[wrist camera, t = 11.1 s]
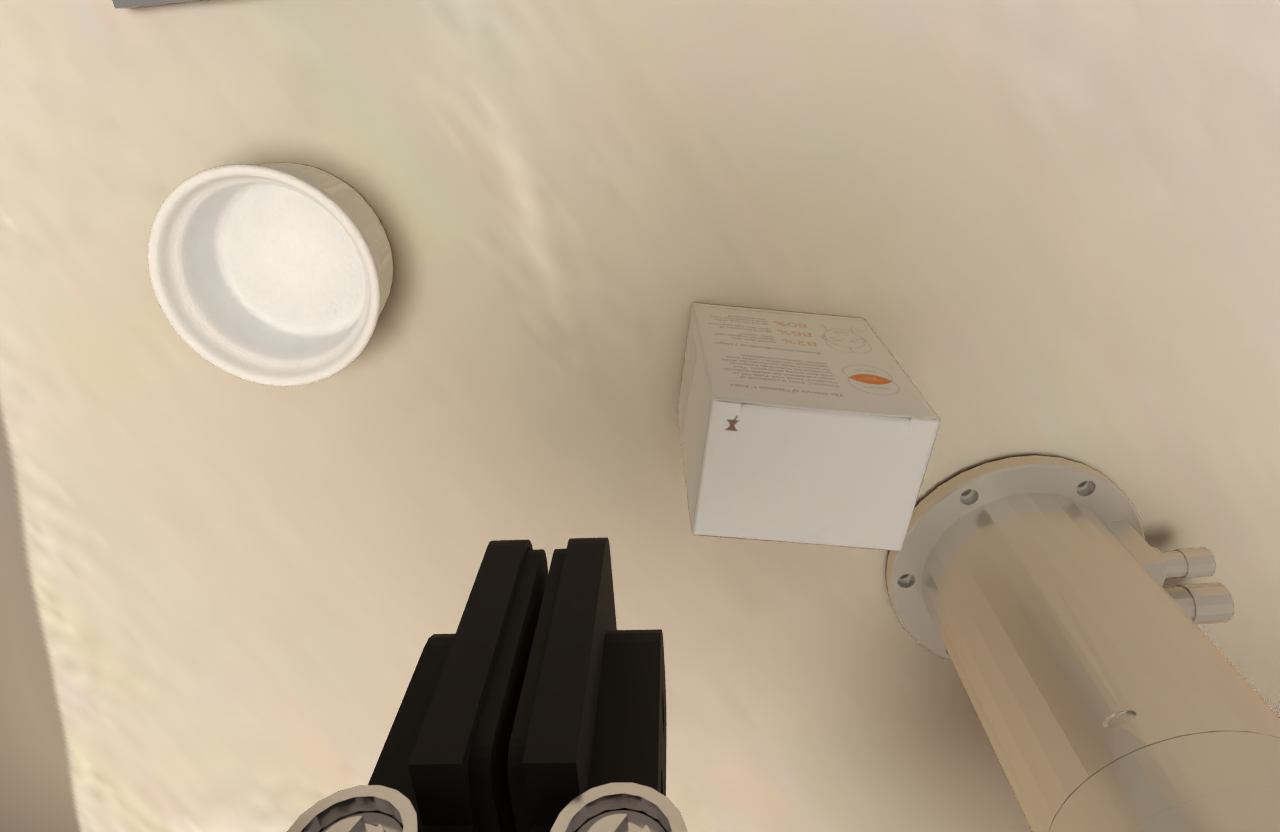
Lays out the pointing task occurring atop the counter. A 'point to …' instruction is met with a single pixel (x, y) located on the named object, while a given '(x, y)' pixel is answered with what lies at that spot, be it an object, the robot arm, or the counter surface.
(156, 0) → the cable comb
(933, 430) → the small box
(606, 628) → the robot arm
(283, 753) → the counter surface
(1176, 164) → the counter surface
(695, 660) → the counter surface
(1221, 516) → the counter surface
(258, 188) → the ramekin
